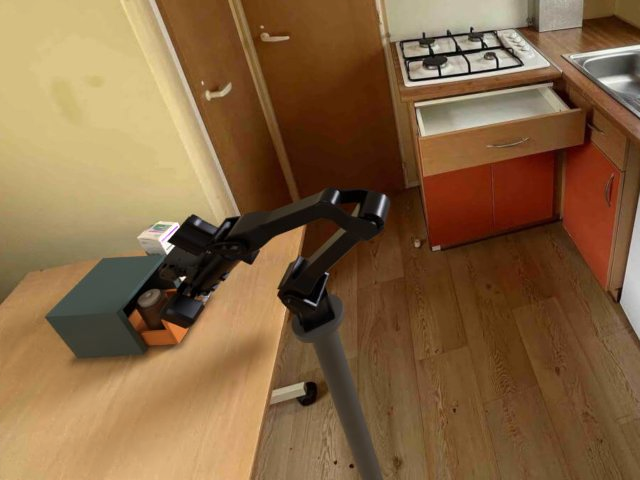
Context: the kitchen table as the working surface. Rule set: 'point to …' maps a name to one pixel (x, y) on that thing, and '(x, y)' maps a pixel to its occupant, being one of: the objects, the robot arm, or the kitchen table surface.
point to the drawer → (158, 336)
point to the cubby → (107, 307)
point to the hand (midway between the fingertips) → (184, 299)
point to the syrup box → (158, 239)
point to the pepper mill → (152, 308)
